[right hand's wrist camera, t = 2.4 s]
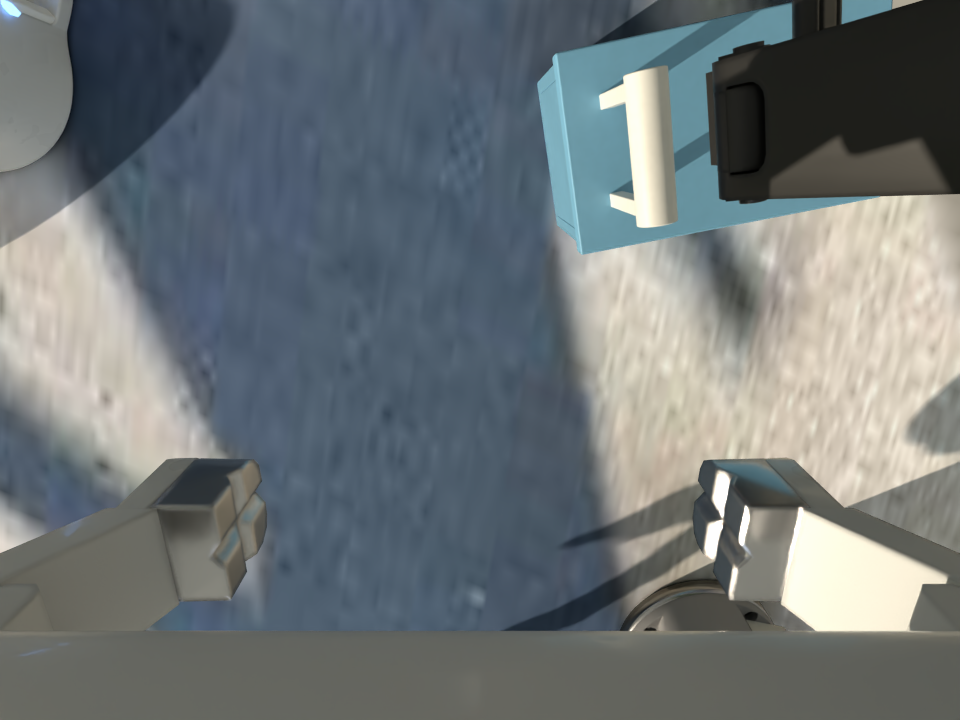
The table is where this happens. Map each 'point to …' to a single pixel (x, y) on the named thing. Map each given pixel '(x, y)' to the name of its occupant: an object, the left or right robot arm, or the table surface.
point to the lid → (660, 130)
